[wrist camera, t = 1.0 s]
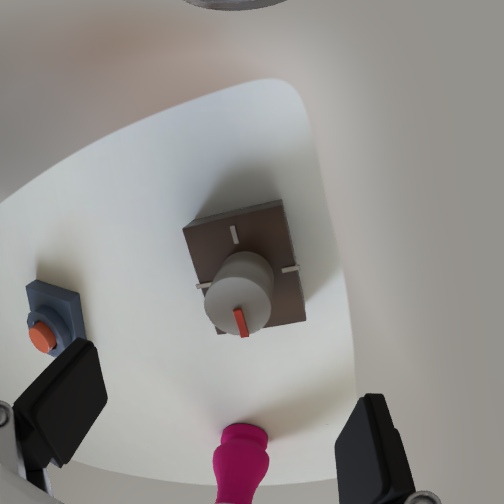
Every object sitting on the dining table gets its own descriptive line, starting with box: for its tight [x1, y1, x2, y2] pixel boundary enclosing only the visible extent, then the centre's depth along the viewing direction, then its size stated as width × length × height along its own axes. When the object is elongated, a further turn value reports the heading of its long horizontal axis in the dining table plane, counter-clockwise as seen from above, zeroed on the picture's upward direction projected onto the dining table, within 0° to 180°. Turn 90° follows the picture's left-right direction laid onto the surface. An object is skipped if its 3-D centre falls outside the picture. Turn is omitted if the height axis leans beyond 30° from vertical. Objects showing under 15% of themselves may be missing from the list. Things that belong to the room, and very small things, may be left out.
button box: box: [26, 280, 87, 357], centre depth 30 cm, size 10×8×4 cm
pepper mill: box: [213, 424, 269, 504], centre depth 25 cm, size 7×7×20 cm
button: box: [29, 321, 57, 353], centre depth 27 cm, size 4×4×2 cm
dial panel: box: [183, 200, 306, 335], centre depth 25 cm, size 10×9×3 cm
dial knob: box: [204, 251, 274, 338], centre depth 21 cm, size 4×4×5 cm
